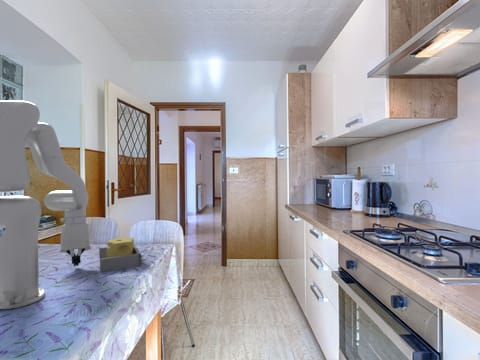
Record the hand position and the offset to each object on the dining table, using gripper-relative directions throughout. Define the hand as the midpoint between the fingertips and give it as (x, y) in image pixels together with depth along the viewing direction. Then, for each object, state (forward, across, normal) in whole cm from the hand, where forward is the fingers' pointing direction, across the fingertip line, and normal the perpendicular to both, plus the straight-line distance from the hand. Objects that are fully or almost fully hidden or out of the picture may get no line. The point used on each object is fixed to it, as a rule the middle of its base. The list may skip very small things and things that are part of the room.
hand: (76, 265), depth 111 cm
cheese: (+2, +17, 0) cm, 17 cm away
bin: (+1, +16, 0) cm, 16 cm away
